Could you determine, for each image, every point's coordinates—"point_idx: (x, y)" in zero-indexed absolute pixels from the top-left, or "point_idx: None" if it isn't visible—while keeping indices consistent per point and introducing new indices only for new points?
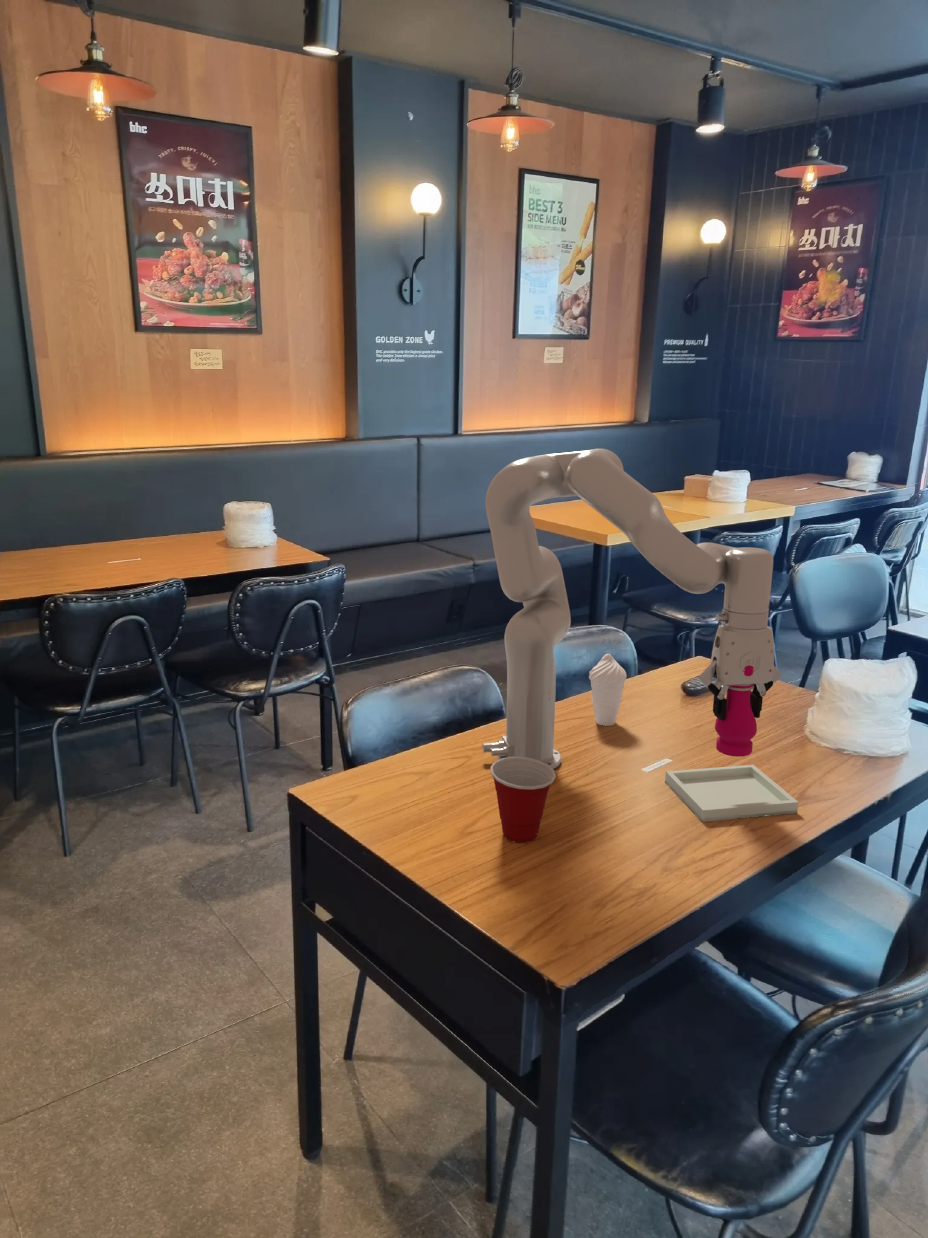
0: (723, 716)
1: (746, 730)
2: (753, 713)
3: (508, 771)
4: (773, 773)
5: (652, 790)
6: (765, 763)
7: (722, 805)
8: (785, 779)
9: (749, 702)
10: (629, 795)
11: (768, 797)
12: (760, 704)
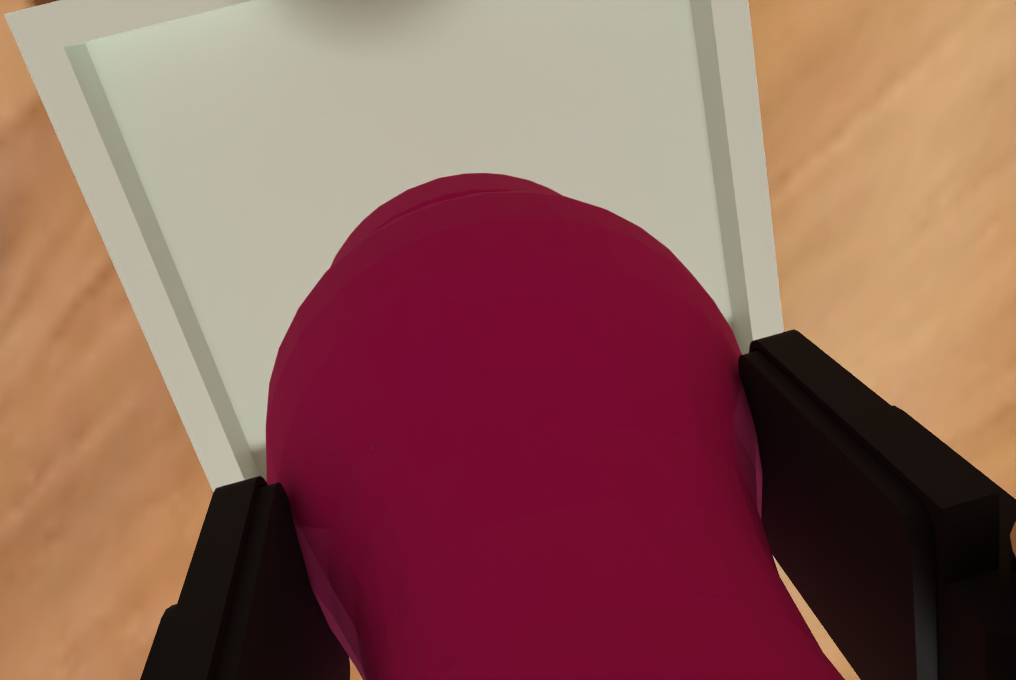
0: (800, 354)
1: (444, 232)
2: (298, 556)
3: None
4: (116, 549)
5: (859, 266)
6: (145, 659)
7: (529, 55)
8: (53, 485)
9: (409, 592)
10: (1001, 192)
11: (204, 197)
12: (180, 619)
